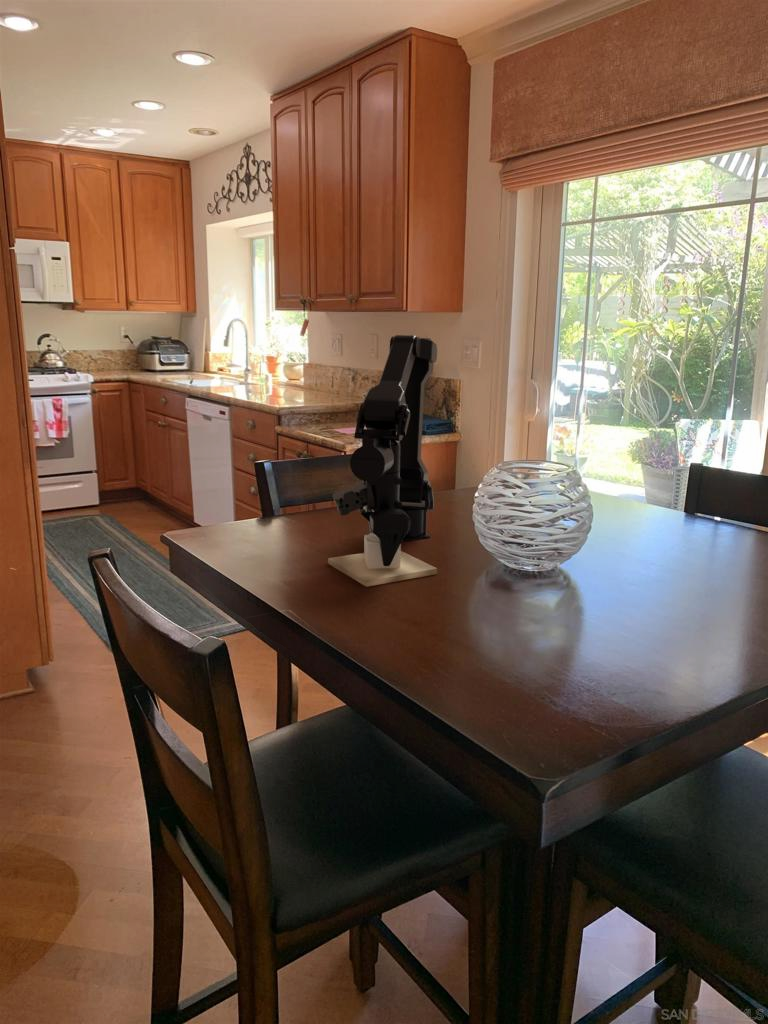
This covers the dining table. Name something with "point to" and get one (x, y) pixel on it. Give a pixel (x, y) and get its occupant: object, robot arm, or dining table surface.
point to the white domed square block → (377, 553)
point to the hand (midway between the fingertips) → (381, 557)
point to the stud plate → (381, 569)
